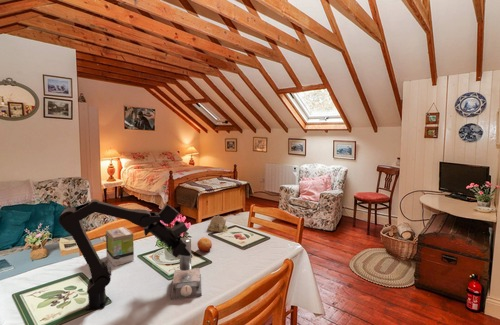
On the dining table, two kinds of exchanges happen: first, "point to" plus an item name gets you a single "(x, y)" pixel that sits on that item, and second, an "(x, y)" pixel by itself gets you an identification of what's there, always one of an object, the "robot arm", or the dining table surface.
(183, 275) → the pan
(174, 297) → the scale
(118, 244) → the tea box
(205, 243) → the fruit
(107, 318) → the dining table surface
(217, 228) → the ceramic model
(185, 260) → the cylinder
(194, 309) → the dining table surface
